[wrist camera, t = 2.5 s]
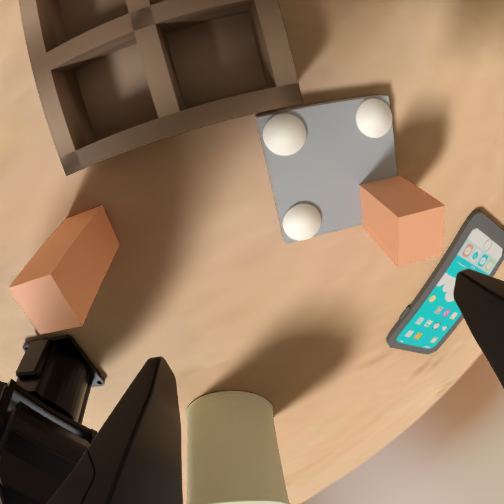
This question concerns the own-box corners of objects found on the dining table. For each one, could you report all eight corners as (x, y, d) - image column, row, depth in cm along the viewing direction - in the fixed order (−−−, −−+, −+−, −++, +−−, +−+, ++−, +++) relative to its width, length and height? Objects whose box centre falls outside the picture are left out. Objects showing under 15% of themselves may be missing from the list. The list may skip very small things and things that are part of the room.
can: (191, 385, 28) (191, 504, 18) (284, 392, 30) (308, 501, 19) (181, 429, 32) (181, 524, 22) (259, 435, 34) (272, 524, 24)
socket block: (285, 99, 17) (302, 103, 13) (93, 157, 17) (66, 176, 14) (237, -72, 11) (243, -102, 7) (48, -6, 11) (16, -19, 8)
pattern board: (394, 211, 21) (441, 253, 16) (283, 240, 21) (305, 294, 16) (384, 94, 17) (442, 104, 12) (255, 116, 17) (272, 130, 12)
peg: (120, 244, 20) (82, 325, 13) (84, 256, 20) (39, 334, 13) (102, 204, 19) (50, 274, 12) (66, 218, 19) (8, 288, 12)
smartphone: (516, 242, 23) (434, 356, 30) (510, 237, 24) (430, 350, 30) (476, 207, 21) (382, 346, 27) (469, 203, 22) (378, 339, 28)
